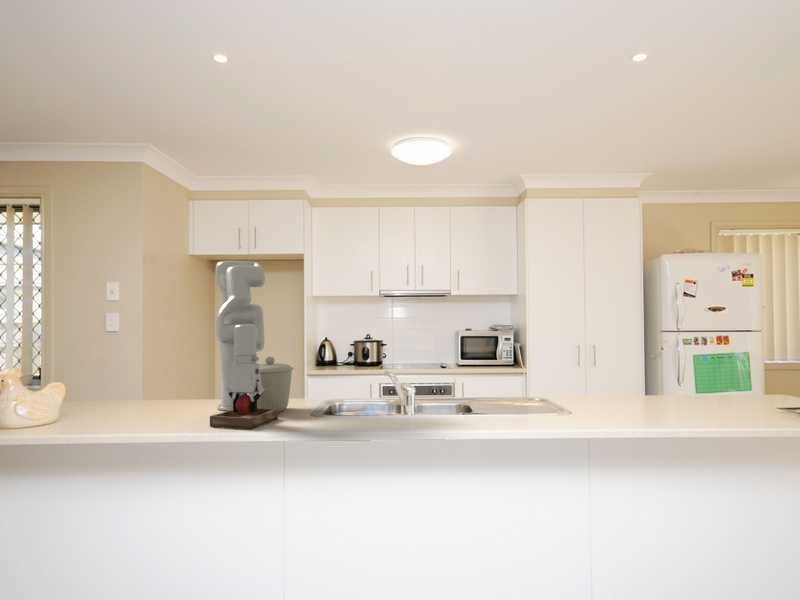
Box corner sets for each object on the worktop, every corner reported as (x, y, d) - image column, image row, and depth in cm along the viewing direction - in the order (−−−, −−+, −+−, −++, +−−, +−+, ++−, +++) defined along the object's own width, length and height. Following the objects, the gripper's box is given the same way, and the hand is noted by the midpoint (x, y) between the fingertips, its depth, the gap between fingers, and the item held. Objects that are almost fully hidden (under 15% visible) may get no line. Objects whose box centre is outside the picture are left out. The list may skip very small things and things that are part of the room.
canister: (242, 409, 183) (243, 356, 184) (288, 405, 191) (288, 354, 191) (248, 417, 167) (248, 359, 167) (298, 413, 174) (298, 357, 175)
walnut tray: (239, 416, 169) (239, 407, 169) (277, 419, 164) (277, 409, 164) (209, 426, 153) (209, 416, 153) (250, 429, 149) (251, 418, 149)
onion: (238, 417, 155) (238, 393, 155) (233, 414, 159) (233, 391, 160) (255, 415, 158) (255, 392, 158) (250, 412, 163) (250, 389, 163)
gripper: (272, 359, 161) (272, 411, 160) (231, 358, 166) (230, 408, 165) (260, 361, 153) (260, 415, 153) (217, 360, 158) (216, 412, 158)
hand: (244, 411), depth 159 cm, fingers closed on onion, 5 cm apart
